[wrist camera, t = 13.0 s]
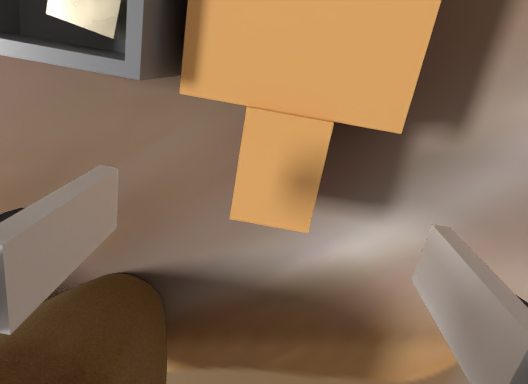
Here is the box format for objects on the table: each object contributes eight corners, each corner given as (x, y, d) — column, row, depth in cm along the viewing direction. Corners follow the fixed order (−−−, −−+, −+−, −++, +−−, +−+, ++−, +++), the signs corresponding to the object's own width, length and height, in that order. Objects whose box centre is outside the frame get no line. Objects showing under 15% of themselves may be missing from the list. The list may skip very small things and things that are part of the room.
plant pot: (120, 393, 37) (6, 618, 22) (14, 284, 33) (-210, 465, 18) (241, 330, 34) (203, 548, 19) (137, 202, 30) (-16, 342, 15)
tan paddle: (221, -211, 19) (208, -263, 16) (472, -165, 19) (508, -209, 16) (181, 190, 26) (167, 207, 23) (361, 223, 26) (370, 244, 23)
